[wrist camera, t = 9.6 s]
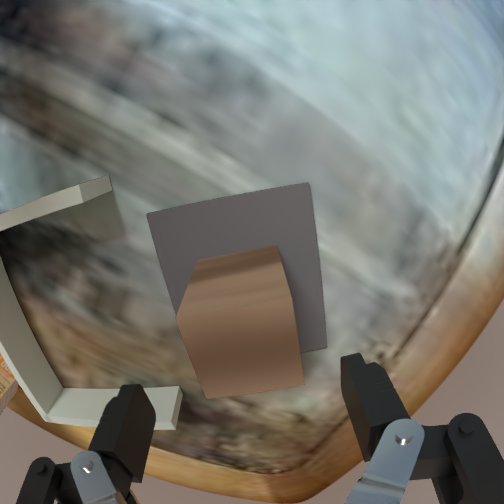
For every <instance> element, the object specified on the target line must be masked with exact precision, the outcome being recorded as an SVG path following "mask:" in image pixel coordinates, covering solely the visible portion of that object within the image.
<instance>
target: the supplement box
mask: <svg viewBox="0 0 504 504" xmlns="http://www.w3.org/2000/svg"><path fill="white" fill-rule="evenodd" d="M18 388H19V383H18V382H17V380H16V379H15V377H14V375H13V374H12V372H11V370H10V369H9V367H8V365H7V364H6V362H5V360H4V359H3V357H2V355H1V353H0V415H1V413H2V412H3V410H4V409H5V408H6V406H7V405H8V403H9V402H10V400H11V399H12V398H13V396H14V395H15V393H16V392H17V390H18Z"/></svg>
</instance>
